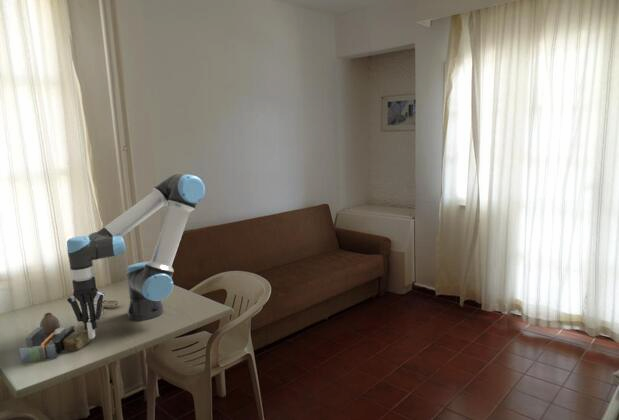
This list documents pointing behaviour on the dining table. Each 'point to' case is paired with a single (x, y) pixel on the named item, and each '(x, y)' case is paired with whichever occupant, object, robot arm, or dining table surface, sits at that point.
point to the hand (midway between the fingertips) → (92, 337)
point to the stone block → (76, 340)
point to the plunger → (58, 339)
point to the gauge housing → (37, 347)
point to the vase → (49, 324)
